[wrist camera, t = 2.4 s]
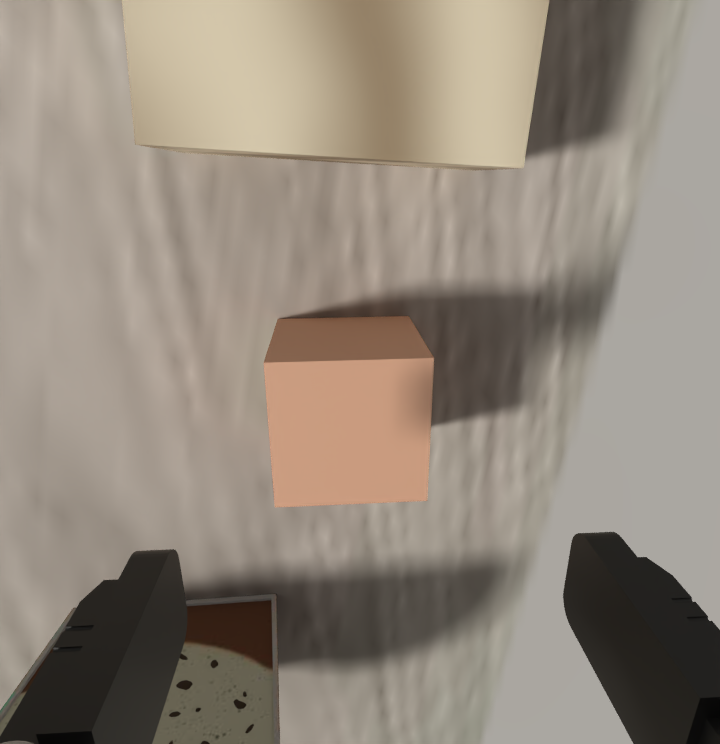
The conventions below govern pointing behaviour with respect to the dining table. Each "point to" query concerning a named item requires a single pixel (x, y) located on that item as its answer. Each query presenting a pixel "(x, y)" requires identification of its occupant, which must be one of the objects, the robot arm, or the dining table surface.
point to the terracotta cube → (348, 410)
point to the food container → (212, 675)
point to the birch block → (337, 79)
